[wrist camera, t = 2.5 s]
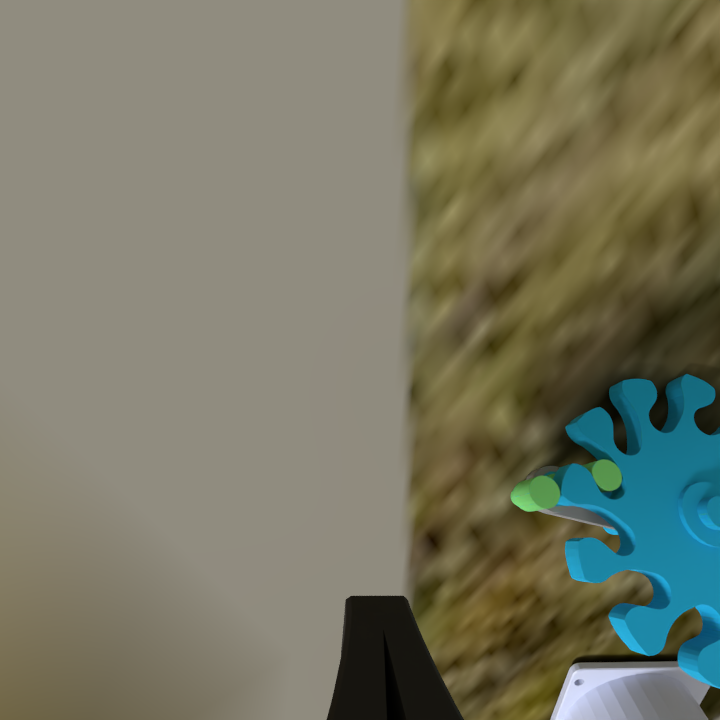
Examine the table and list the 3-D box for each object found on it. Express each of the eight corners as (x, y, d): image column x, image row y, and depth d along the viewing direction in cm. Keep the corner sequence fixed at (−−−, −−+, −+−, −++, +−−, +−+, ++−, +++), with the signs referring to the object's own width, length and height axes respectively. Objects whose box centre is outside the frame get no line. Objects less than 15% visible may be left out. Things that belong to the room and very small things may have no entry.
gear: (842, 402, 17) (910, 736, 13) (713, 438, 23) (733, 682, 19) (547, 331, 17) (527, 647, 13) (488, 385, 22) (463, 619, 18)
